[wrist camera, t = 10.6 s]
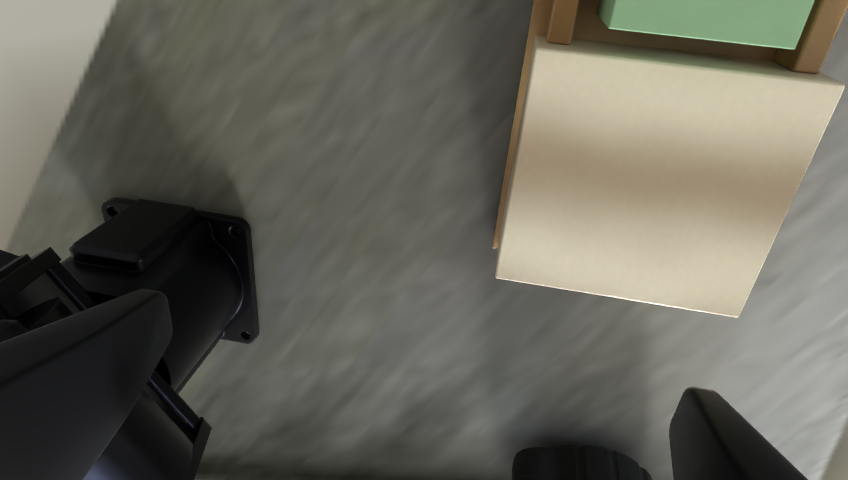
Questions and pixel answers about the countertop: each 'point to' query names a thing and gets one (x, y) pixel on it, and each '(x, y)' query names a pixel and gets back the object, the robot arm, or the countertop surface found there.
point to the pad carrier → (657, 157)
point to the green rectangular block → (712, 19)
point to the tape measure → (575, 464)
